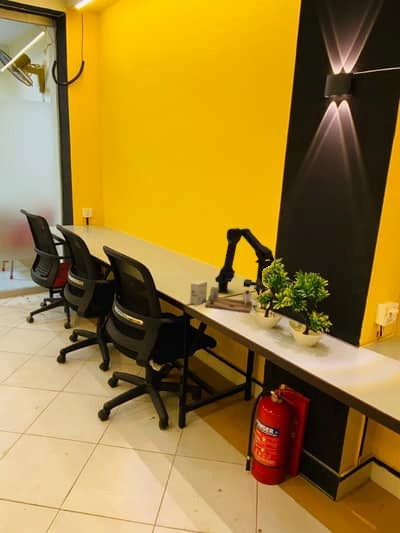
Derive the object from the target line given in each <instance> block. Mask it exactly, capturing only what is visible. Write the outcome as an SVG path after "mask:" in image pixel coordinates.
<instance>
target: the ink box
mask: <svg viewBox="0 0 400 533" xmlns="http://www.w3.org/2000/svg"><path fill="white" fill-rule="evenodd" d="M207 291H208V281H205V280H203V279H201V280H197V281H194V282H193V281H192V282H191V283H190V296H189V297H190V298H189V304H192V305H194V306H199V305H201V304H205V303H207V293H208V292H207Z"/></svg>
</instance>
